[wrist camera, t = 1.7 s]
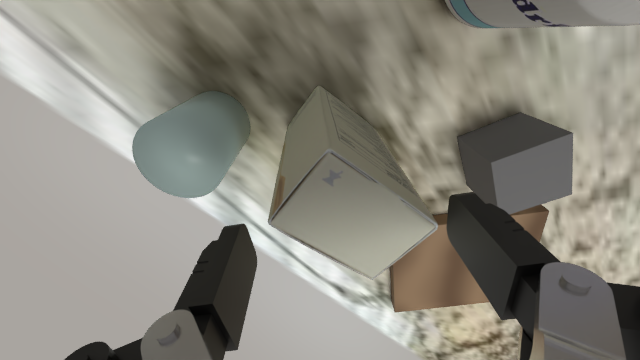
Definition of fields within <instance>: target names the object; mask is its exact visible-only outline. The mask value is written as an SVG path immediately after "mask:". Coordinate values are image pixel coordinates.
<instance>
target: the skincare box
mask: <svg viewBox="0 0 640 360" xmlns="http://www.w3.org/2000/svg"><path fill="white" fill-rule="evenodd" d="M268 223H269V225H271V226H272V227H274V228H276V229H277V230H279V231H280V232H282V233H284V234H286V235H287V236H289V237H291V238H293V239H294V240H296V241H298V242H300V243H301V244H303V245H305V246H307V247H309V248H310V249H312V250H315V251H316V252H318V253H320V254H322V255H324V256H326V257H328V258H330V259H331V260H333V261H335V262H337V263H339V264H341V265H343V266H345V267H347V268H349V269H351V270H353V271H355V272H357V273H359V274H361V275H363V276H365V277H367V278H369V279H372V280H373V279H375V278H376V277H377V276H378V275H380V274H381V273H382V272H383V271H385V270H386V269H387V268H389V267H390V266H391V265H393V264H394V263H395V262H396V261H398V260H399V259H401V258H402V257H403V256H404V255H405V254H407V253H408V252H409V251H411V250H412V249H413V248H414V247H416V246H417V245H418V244H420V243H421V242H422V241H423V240H425V239H426V238H427V237H428V236H430V235H431V234H432V233H433V232H435V231H436V230H437V228H438V224H437V222H436V220H435V219H434V217H433V216H432V214H431V213H430V211H429V210H428V208H427V207H426V205H425V204H424V202H423V201H422V199H421V198H420V196H419V195H418V193H417V192H416V190H415V189H414V187H413V185H412V184H411V182H410V181H409V179H408V178H407V176H406V175H405V173H404V172H403V170H402V169H401V167H400V165H399V164H398V162H397V161H396V159H395V158H394V156H393V155H392V153H391V152H390V150H389V149H388V147H387V146H386V144H385V143H384V141H383V140H382V138H381V137H380V135H379V133H378V132H377V130H376V129H375V128H373V127H372V126H371V125H370V124H369V123H368V122H366V121H365V120H364V119H363V118H362V117H360V116H359V115H358V114H357V113H355V112H354V111H353V110H352V109H350V108H349V107H348V106H346V105H345V104H344V103H343V102H341V101H340V100H339V99H337V98H336V97H335V96H333V95H332V94H331V93H329V92H328V91H327V90H325V89H324V88H322V87H321V86H317V87H316V88H315V90H314V91H313V92H312V94H311V95H310V96H309V97H308V99H307V100H306V101H305V103H304V104H303V105H302V107H301V108H300V109H299V111H298V112H297V114H296V115H295V116H294V118H293V119H292V121H291V122H290V124H289V125H288V128H287V132H286V137H285V142H284V146H283V151H282V156H281V160H280V165H279V170H278V174H277V179H276V184H275V189H274V194H273V199H272V203H271V209H270V214H269V219H268Z"/></svg>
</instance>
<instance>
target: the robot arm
mask: <svg viewBox="0 0 640 360" xmlns="http://www.w3.org/2000/svg"><path fill="white" fill-rule="evenodd" d="M446 228H447V235H448V238H449V240H450V242H451V244H452V246H453V247H454V249H455V250H456V252H457V253H458V255H459V256H460V258H461V259H462V261H463V262H464V264H465V265H466V267H467V268H468V270H469V271H470V273H471V274H472V276H473V277H474V279H475V280H476V282H477V284H478V285H479V287H480V288H481V290H482V291H483V293H484V294H485V296H486V297H487V299H488V300H489V302H490V303H491V305H492V306H493V308H494V309H495V311H496V312H497V314H498V315H499V317H500V318H501V320H507V319H517V320H518V322H519V323H520V325H521V329H520V333H519V343H518V354H517V360H640V287H638V286H630V285H622V284H613V283H606V282H605V281H604V280H603V279H602V278H601V277H599V276H598V275H596V274H595V273H593V272H591V271H590V270H587V269H585V268H583V267H580V266H577V265H574V264H570V263H564V262H560V261H559V260H558V259H557V258H556V257H555V256H554V255H552V254H551V253H550V252H549V251H548V250H547V249H546V248H545V247H544V246H543V245H542V244H541V243H539V242H538V241H537V240H536V239H535V238H534V237H533V236H532V235H531V234H530V233H529V232H528V231H527V230H526V231H525V230H524V228H523V227H522V226H521V225H520V224H519V223H518V222H516V221H515V219H514V218H513V217H511V216H510V215H509V214H508V213H507V212H506V211H505V210H503V209H501V208H499V207H497V206H495V205H493V204H491V203H488V204H485V203H484V202H483V201H482V200H481V199H480V198H479V197H478V196H477V195H476V194H475V193H474V192H469V193H462V194H455V195H451V196H450V198H449V206H448V216H447V227H446ZM256 267H257V256H256V251H255V249H254V246H253V243H252V240H251V238H250V235H249V232H248V229H247V227H246V225H245V224H238V225H231V226H225V227H224V228H223V230H222V232H221V234H220V236H219V239H218V240H216V241H212V242H211V243H210V244H209V245H208V246H207V247H206V248H205V249H204V250H203V251H202V253H201V256H200V258H199V259H198V261H197V265H196V266H195V268H194V270H193V274H191V276H190V278H189V280H188V282H187V284H186V286H185V288H184V290H183V292H182V294H181V296H180V298H179V300H178V302H177V304H176V306H175V308H174V310H173V311H172V312H170V313H167V314H166V315H164V316H162V317H161V318H159V319H158V320H157V321H156V322H154V323H153V324H152V325H151V327H150V328H149V329H148V330H147V332H146V333H145V335H144V337H143V338H141V339H139V340H137V341H134V342H132V343H129V344H127V345H125V346H122V347H120V348H117V349H115V350H112V349H111V348H110V347H109V346H108V345H107V344H106V343H104V342H94V343H90V344H88V345H85V346H83V347H81V348H80V349H78V350H76V351H75V352H73V353H72V354H71V355H69V356H68V357H67V358H66V359H65V360H223V358H224V355H225V351H233V350H238V346H239V341H240V337H241V333H242V328H243V324H244V320H245V315H246V311H247V307H248V303H249V298H250V294H251V289H252V285H253V281H254V277H255V272H256Z"/></svg>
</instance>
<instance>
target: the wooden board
mask: <svg viewBox="0 0 640 360" xmlns="http://www.w3.org/2000/svg"><path fill="white" fill-rule="evenodd" d="M548 213H549V210H547V209H546V208H545V207H543V206H542V205H541V204H540V205H537V206H534V207H531V208H528V209H525V210H522V211H519V212H516V213H513V214H510V216H511V217H513V218H514V219H515V221H516V222H518V223H519V224H520V225H521V226H522V227H523V228H524V230H525V231H526V230H527V231H528V232H529V233H530V234H531V235H532V236H533V237H534V238H535V239H536V240H537V241H538V242H540V239H541V236H542V232H543V229H544V226H545V223H546V220H547V216H548ZM432 216H433V217H434V219H435V220H436V222H437V224H438V228H437V230H436V231H435V232H433V233H432V234H431V235H430V236H428V237H427V238H426V239H425V240H423V241H422V242H421V243H420V244H418V245H417V246H416V247H414V248H413V249H412V250H411V251H409V252H408V253H407V254H405V255H404V256H403V257H402V258H401V259H399V260H398V261H396V262H395V263H394V264H393V265H391V266H390V276H391V299H392V304H393V308H394V311H395V312H403V311H412V310H422V309H431V308H440V307H449V306H458V305H467V304H476V303H485V302H489V300H488V299H487V297H486V296H485V294H484V293H483V291H482V290H481V288H480V287H479V285H478V284H477V282H476V280H475V279H474V277H473V276H472V274H471V273H470V271H469V270H468V268H467V267H466V265H465V264H464V262H463V261H462V259H461V258H460V256H459V255H458V253H457V252H456V250H455V249H454V247H453V246H452V244H451V242H450V240H449V238H448V235H447V228H446V227H447V216H448V214H440V215H432Z"/></svg>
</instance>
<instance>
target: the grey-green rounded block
mask: <svg viewBox="0 0 640 360" xmlns="http://www.w3.org/2000/svg"><path fill="white" fill-rule="evenodd" d="M249 134H250V121H249V117H248V114H247V112H246V111H245V109H244V108H243V106H242V105H241V104H240V103H239V102H238V101H237V100H236V99H234V98H233V97H231V96H230V95H228V94H225V93H222V92H218V91H207V92H203V93H201V94H199V95H197V96H195V97H193V98H191V99H189V100H187V101H186V102H184V103H182V104H180V105H178V106H176V107H174V108H173V109H171V110H169V111H167V112H165V113H163V114H161V115H160V116H158V117H156V118H154V119H152V120H150V121H148V122H147V123H145V124H144V125H143V126H141V127H140V128H139V130H138V131H137V133H136V135H135V137H134V140H133V146H132V149H133V157H134V160H135V163H136V165H137V167H138V169H139V170H140V172H141V173H142V174H143V176H144V177H145V178H146V179H147V180H148V181H149V182H150V183H152V184H153V185H154V186H155V187H157V188H158V189H160V190H162V191H163V192H166V193H168V194H171V195H174V196H178V197H183V198H195V197H201V196H204V195H206V194H208V193H210V192H212V191H213V190H214V189H215V188H216V187H217V186H218V185H219V183H220V182H221V180H222V179H223V177H224V176H225V174H226V172H227V171H228V169H229V168H230V166H231V165H232V163H233V161H234V160H235V158H236V157H237V155H238V154H239V152H240V150H241V149H242V147H243V146H244V144H245V143H246V141H247V139H248V137H249Z"/></svg>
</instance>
